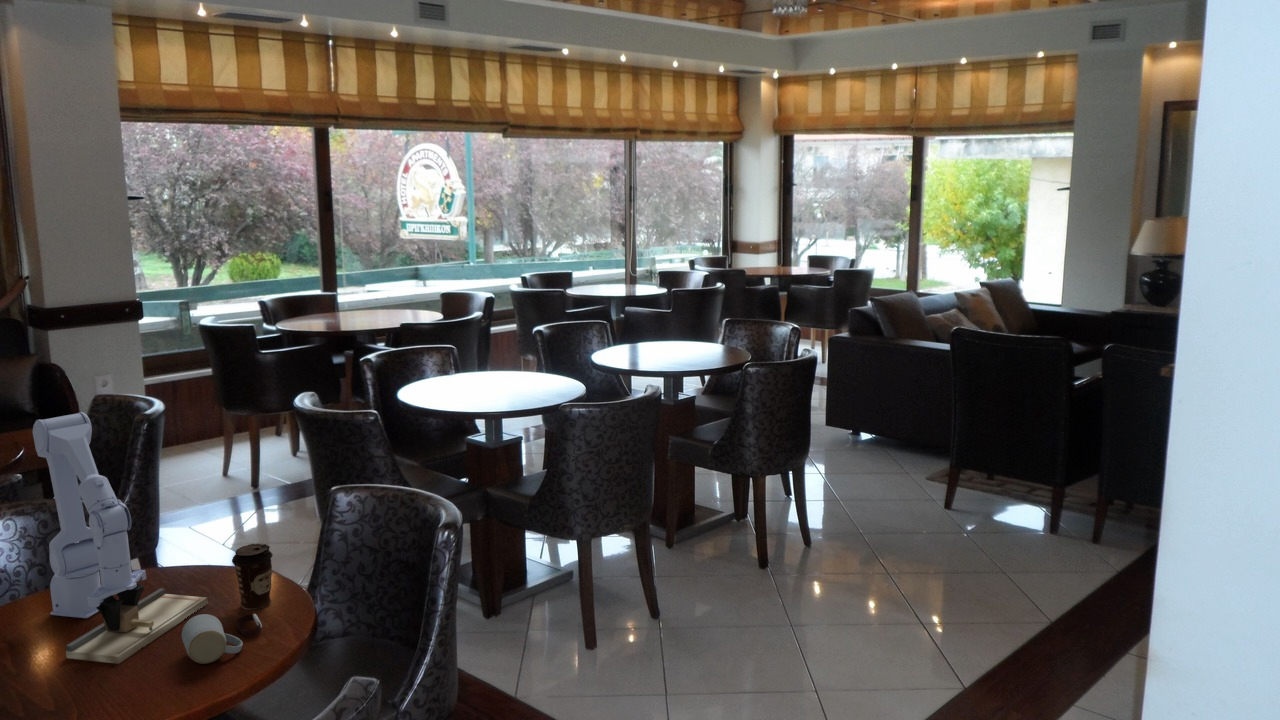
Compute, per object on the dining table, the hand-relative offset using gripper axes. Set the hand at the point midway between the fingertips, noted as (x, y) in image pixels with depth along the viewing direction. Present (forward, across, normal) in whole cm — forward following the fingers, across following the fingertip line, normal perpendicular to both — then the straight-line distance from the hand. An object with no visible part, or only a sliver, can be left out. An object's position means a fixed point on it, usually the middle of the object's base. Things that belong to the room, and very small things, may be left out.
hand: (122, 624), depth 209 cm
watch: (+3, +7, -25) cm, 26 cm away
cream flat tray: (+2, +3, -2) cm, 4 cm away
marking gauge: (0, 0, -2) cm, 2 cm away
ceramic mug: (+3, -4, -24) cm, 24 cm away
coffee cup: (+3, +19, -19) cm, 27 cm away
